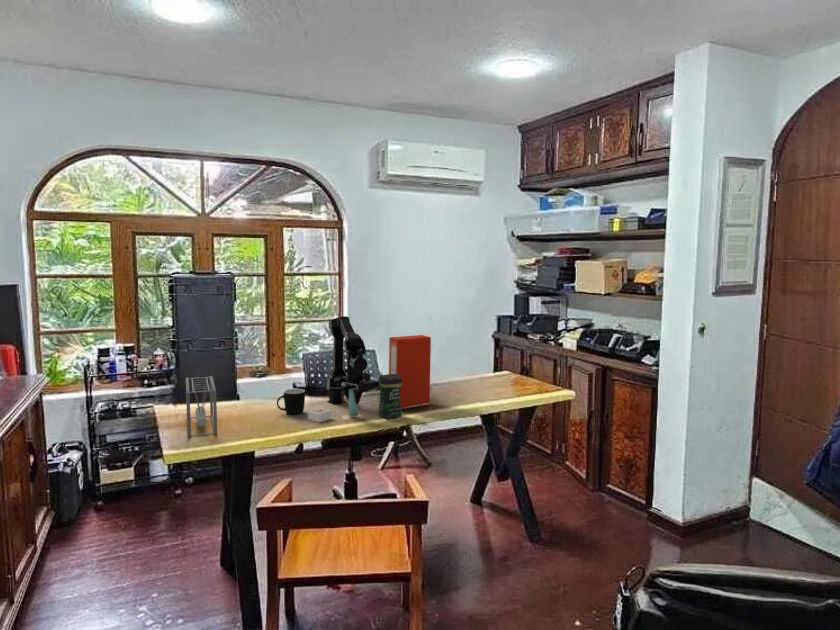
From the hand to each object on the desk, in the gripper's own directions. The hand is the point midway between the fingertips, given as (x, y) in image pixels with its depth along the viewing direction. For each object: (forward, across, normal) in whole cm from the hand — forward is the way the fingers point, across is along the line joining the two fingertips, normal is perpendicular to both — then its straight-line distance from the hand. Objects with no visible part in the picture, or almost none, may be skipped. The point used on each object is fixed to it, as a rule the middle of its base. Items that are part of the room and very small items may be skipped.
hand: (353, 403), depth 247 cm
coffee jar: (+7, -10, -12) cm, 17 cm away
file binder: (+7, -5, -31) cm, 32 cm away
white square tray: (+7, +9, +11) cm, 16 cm away
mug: (+7, +25, +13) cm, 29 cm away
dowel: (+5, 0, 0) cm, 5 cm away
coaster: (+7, 0, 0) cm, 7 cm away
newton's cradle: (+7, +38, +48) cm, 61 cm away
